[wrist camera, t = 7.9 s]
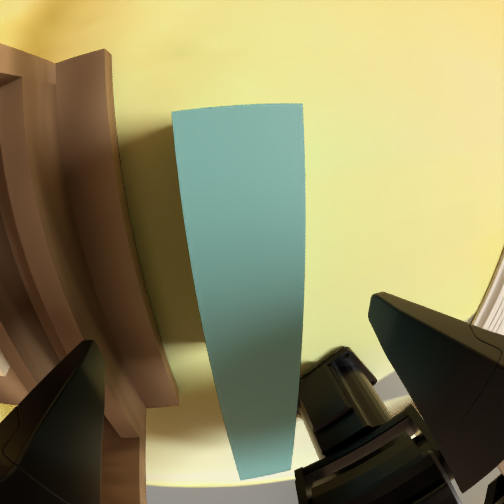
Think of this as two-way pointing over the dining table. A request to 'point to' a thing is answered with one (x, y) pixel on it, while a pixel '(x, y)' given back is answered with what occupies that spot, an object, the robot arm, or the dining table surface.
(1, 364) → the board
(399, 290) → the dining table surface
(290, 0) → the dining table surface
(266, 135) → the teal sheet
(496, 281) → the baseboard molding
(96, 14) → the dining table surface
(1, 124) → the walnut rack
